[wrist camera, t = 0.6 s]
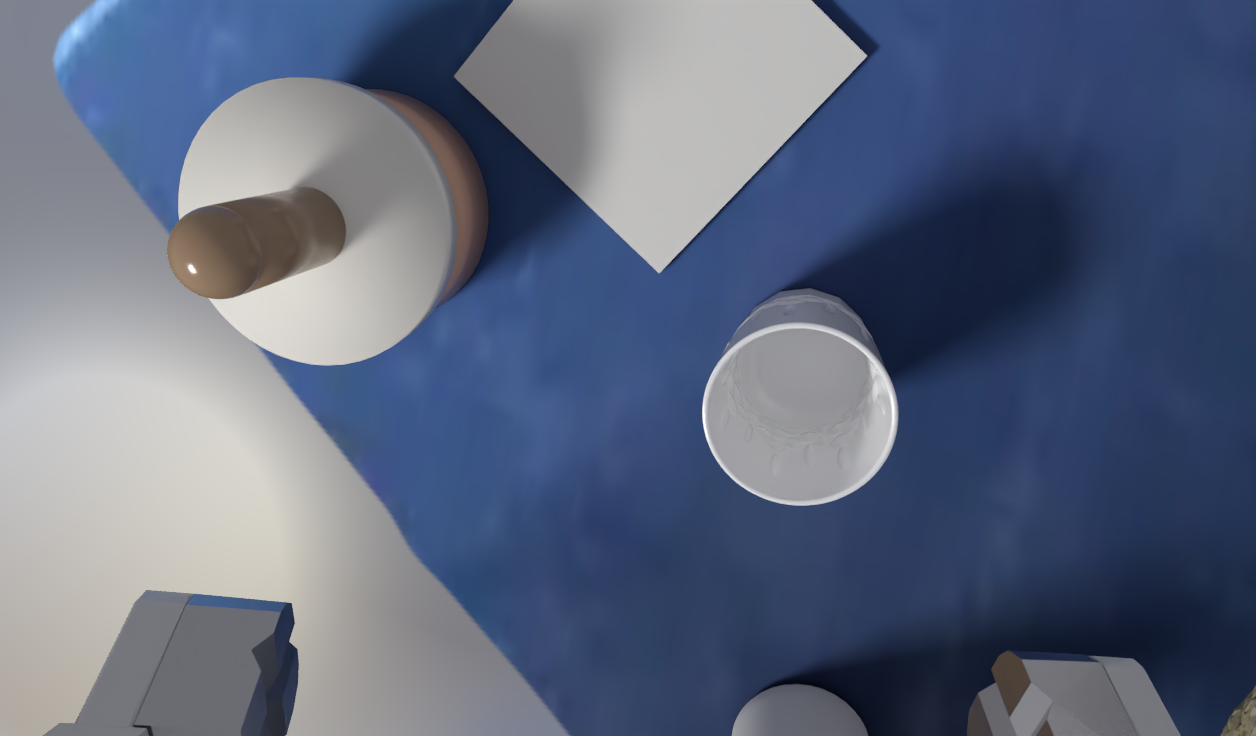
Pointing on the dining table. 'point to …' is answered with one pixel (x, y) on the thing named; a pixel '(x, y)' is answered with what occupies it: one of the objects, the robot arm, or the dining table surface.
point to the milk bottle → (798, 714)
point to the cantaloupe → (1243, 718)
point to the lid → (314, 220)
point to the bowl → (452, 183)
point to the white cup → (801, 401)
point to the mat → (657, 99)
